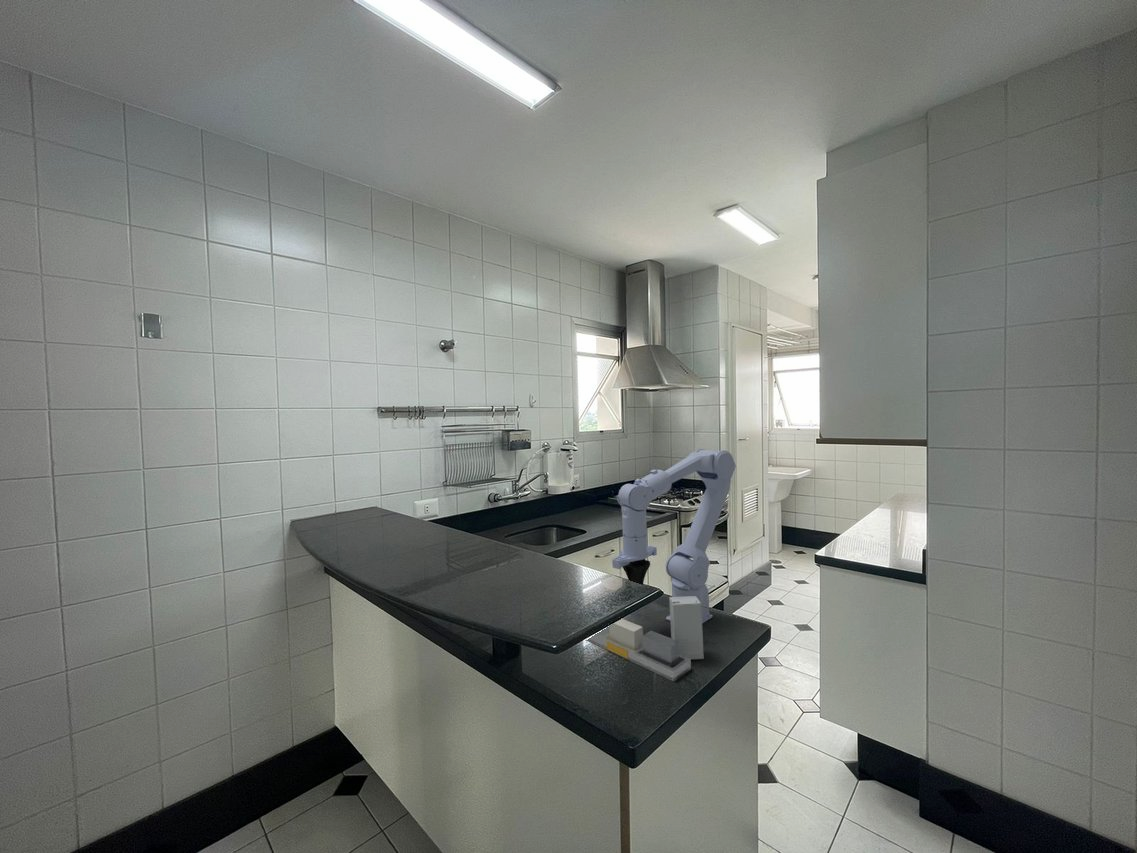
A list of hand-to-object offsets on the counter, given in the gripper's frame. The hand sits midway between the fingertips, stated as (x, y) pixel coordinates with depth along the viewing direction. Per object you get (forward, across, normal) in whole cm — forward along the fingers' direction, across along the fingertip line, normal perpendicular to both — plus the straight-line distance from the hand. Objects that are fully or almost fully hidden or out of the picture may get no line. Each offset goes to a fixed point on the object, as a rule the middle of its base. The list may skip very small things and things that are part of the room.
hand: (636, 591), depth 104 cm
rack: (+10, +8, +3) cm, 13 cm away
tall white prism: (+9, +8, +3) cm, 13 cm away
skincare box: (+10, +1, +14) cm, 17 cm away
